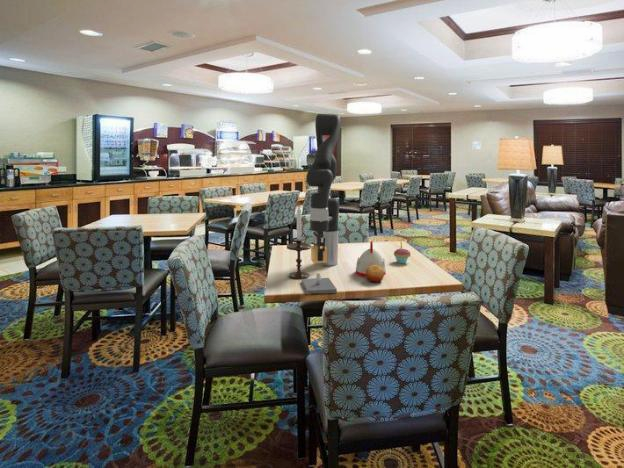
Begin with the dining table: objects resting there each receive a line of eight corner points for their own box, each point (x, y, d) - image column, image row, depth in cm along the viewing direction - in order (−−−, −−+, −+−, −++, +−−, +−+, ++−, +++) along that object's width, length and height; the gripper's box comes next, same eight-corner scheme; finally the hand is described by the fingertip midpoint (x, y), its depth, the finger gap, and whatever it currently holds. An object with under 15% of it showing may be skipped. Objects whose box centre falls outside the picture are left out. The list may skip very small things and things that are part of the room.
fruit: (381, 274, 196) (383, 261, 191) (383, 287, 190) (386, 275, 185) (363, 274, 196) (365, 261, 190) (365, 287, 190) (367, 275, 184)
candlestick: (308, 280, 190) (308, 201, 184) (284, 279, 192) (283, 201, 186) (312, 273, 201) (313, 198, 194) (290, 272, 203) (289, 198, 196)
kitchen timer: (384, 269, 208) (385, 239, 205) (386, 278, 195) (387, 245, 192) (355, 268, 210) (356, 238, 207) (355, 277, 196) (356, 245, 193)
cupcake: (390, 260, 225) (391, 238, 223) (404, 259, 228) (406, 237, 225) (398, 264, 217) (399, 241, 215) (413, 263, 220) (414, 240, 217)
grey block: (301, 282, 188) (301, 268, 187) (328, 281, 190) (328, 267, 189) (307, 294, 172) (307, 279, 171) (336, 292, 174) (336, 278, 173)
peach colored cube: (311, 259, 181) (311, 245, 180) (324, 259, 182) (324, 245, 181) (313, 263, 176) (313, 248, 175) (326, 262, 177) (327, 248, 176)
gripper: (307, 216, 182) (307, 255, 185) (313, 221, 168) (312, 263, 171) (324, 216, 183) (324, 254, 186) (332, 221, 169) (331, 263, 172)
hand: (318, 258), depth 179 cm, fingers closed on peach colored cube, 5 cm apart
